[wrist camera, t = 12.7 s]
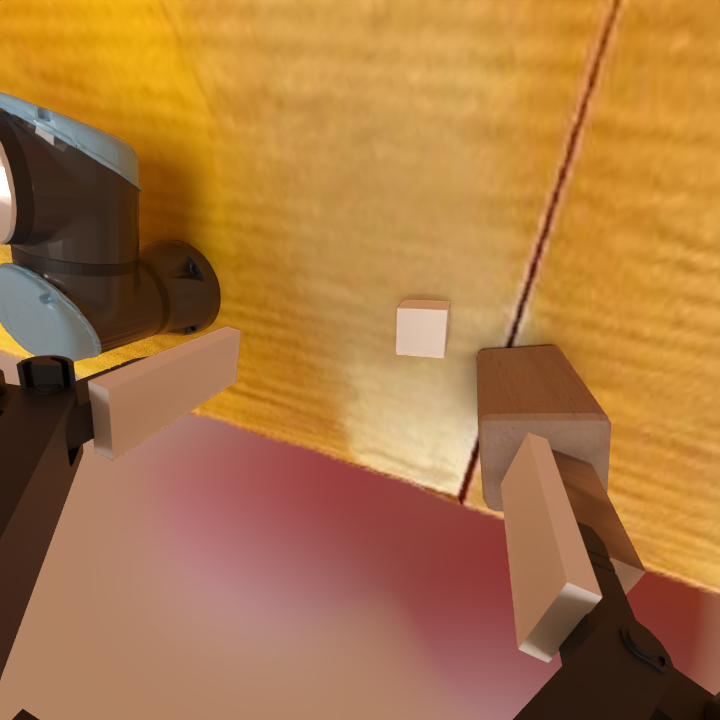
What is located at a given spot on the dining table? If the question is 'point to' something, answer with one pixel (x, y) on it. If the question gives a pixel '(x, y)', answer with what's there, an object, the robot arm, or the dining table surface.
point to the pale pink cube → (422, 328)
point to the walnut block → (599, 516)
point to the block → (535, 412)
